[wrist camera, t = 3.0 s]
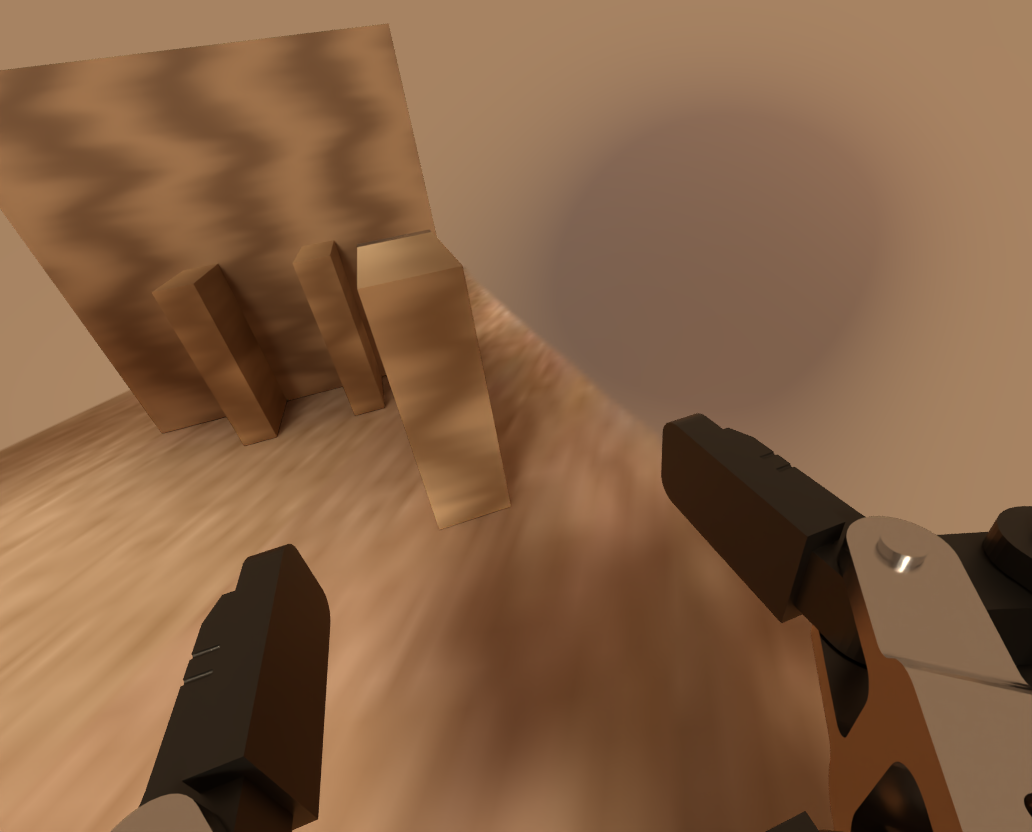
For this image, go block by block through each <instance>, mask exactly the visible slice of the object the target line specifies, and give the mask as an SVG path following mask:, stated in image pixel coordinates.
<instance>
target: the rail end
mask: <svg viewBox="0 0 1032 832" xmlns="http://www.w3.org/2000/svg"><path fill="white" fill-rule="evenodd" d="M357 290H358V293H359V296H360V299H361V302H362V305H363V308H364V310H365V313H366V316H367V319H368V322H369V325H370V328H371V331H372V334H373V337H374V340H375V343H376V346H377V349H378V351H379V354H380V357H381V360H382V363H383V366H384V369H385V372H386V375H387V378H388V381H389V384H390V387H391V390H392V392H393V395H394V398H395V401H396V404H397V407H398V410H399V413H400V416H401V419H402V422H403V425H404V428H405V431H406V433H407V436H408V439H409V442H410V445H411V448H412V451H413V454H414V457H415V460H416V463H417V466H418V469H419V472H420V474H421V477H422V480H423V483H424V486H425V489H426V492H427V495H428V498H429V501H430V504H431V507H432V510H433V513H434V515H435V518H436V521H437V524H438V527H439V530H441V529H444V528H447V527H450V526H453V525H456V524H459V523H462V522H465V521H468V520H471V519H474V518H477V517H480V516H483V515H486V514H490V513H493V512H496V511H499V510H502V509H505V508H508V507H511V503H510V498H509V493H508V488H507V483H506V478H505V473H504V468H503V464H502V459H501V454H500V449H499V444H498V439H497V434H496V429H495V424H494V419H493V414H492V409H491V404H490V399H489V394H488V389H487V384H486V380H485V375H484V370H483V365H482V360H481V355H480V350H479V345H478V340H477V335H476V330H475V325H474V320H473V315H472V310H471V305H470V301H469V296H468V291H467V286H466V281H465V276H464V271H463V266H462V265H461V264H460V263H459V261H458V260H457V259H456V258H455V257H454V256H453V255H452V254H451V253H450V251H449V250H448V249H447V248H446V247H445V246H444V245H443V244H442V243H441V242H440V240H439V239H438V238H437V237H436V236H435V235H434V234H433V233H432V232H431V230H430V229H429V230H424V231H419V232H414V233H409V234H404V235H400V236H395V237H390V238H385V239H380V240H375V241H370V242H365V243H360V244H357Z"/></svg>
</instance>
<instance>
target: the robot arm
mask: <svg viewBox="0 0 1032 832" xmlns="http://www.w3.org/2000/svg"><path fill="white" fill-rule="evenodd" d="M661 477H662V483H663V486H664V489H665V491H666V493H667V495H668V497H669V499H670V500H671V501H672V503H673V504H674V505H675V506H676V507H677V508H678V509H679V510H680V511H681V513H682V514H683V515H684V516H685V517H686V518H687V519H688V520H689V521H690V523H691V524H692V525H693V526H694V527H695V528H696V529H697V530H698V531H699V532H700V534H701V535H702V536H703V537H704V538H705V539H706V540H707V541H708V542H709V544H710V545H711V546H712V547H713V548H714V549H715V550H716V551H717V552H718V554H719V555H720V556H721V557H722V558H723V559H724V560H725V561H726V562H727V563H728V565H729V566H730V567H731V568H732V569H733V570H734V571H735V572H736V573H737V575H738V576H739V577H740V578H741V579H742V580H743V581H744V582H745V583H746V585H747V586H748V587H749V588H750V589H751V590H752V591H753V592H754V593H755V594H756V596H757V597H758V598H759V599H760V600H761V601H762V602H763V603H764V604H765V606H766V607H767V608H768V609H769V610H770V611H771V612H772V613H773V614H774V616H775V617H776V618H777V619H778V620H779V621H780V622H781V623H783V622H785V621H788V620H790V619H792V618H795V617H797V616H799V615H802V614H803V615H804V616H805V617H806V618H807V619H808V620H809V621H810V622H811V623H812V624H813V625H812V628H811V639H812V645H813V650H814V656H815V661H816V667H817V673H818V678H819V684H820V689H821V695H822V700H823V706H824V712H825V717H826V723H827V728H828V734H829V741H830V763H829V774H828V786H829V800H830V808H831V814H832V820H833V827H834V831H831V830H818V829H817V827H816V826H815V825H814V823H813V822H812V820H811V819H810V817H809V816H808V814H807V813H806V811H804V812H802V813H801V814H799V815H797V816H795V817H793V818H791V819H789V820H787V821H785V822H783V823H781V824H779V825H777V826H776V827H774V828H772V829H770V830H768V831H766V832H1032V506H1022V507H1014V508H1009V509H1007V510H1005V511H1003V512H1002V513H1001V514H999V516H998V518H997V520H996V521H995V522H994V524H993V526H992V527H991V529H990V531H989V532H979V533H962V534H947V535H936V534H934V533H932V532H931V531H929V530H927V529H925V528H923V527H921V526H918V525H916V524H914V523H911V522H908V521H905V520H901V519H897V518H892V517H884V516H871V517H865V516H863V515H862V514H860V513H859V512H857V511H856V510H855V509H853V508H852V507H850V506H849V505H848V504H846V503H845V502H843V501H842V500H840V499H839V498H838V497H836V496H835V495H834V494H832V493H831V492H829V491H828V490H827V489H825V488H824V487H822V486H821V485H820V484H818V483H817V482H815V481H814V480H813V479H811V478H810V477H808V476H807V475H806V474H804V473H803V472H801V471H800V470H798V469H797V468H795V467H793V468H792V467H791V465H790V463H789V462H787V461H786V460H784V459H783V458H782V457H780V456H779V455H774V453H773V451H772V450H770V449H769V448H768V447H766V446H765V445H764V444H762V443H761V442H759V441H758V440H756V439H755V438H754V437H751V436H748V435H746V434H743V433H741V432H738V431H736V430H733V429H730V428H726V429H722V428H720V427H719V426H718V425H717V424H715V423H714V422H713V421H711V420H710V419H709V418H707V417H706V416H704V415H702V414H694V415H691V416H688V417H685V418H681V419H679V420H675V421H673V422H669V423H667V424H666V425H665V426H664V428H663V441H662V470H661ZM329 637H330V611H329V605H328V602H327V598H326V596H325V593H324V591H323V589H322V588H321V586H320V585H319V583H318V582H317V580H316V578H315V577H314V575H313V574H312V572H311V571H310V569H309V567H308V566H307V564H306V563H305V561H304V559H303V558H302V556H301V555H300V553H299V552H298V550H297V549H296V548H295V546H293V545H292V544H287V545H284V546H281V547H278V548H275V549H272V550H268V551H265V552H262V553H259V554H256V555H253V556H250V557H248V558H247V559H246V560H245V561H244V563H243V566H242V569H241V573H240V576H239V580H238V583H237V587H236V590H235V591H233V592H230V593H227V594H224V595H222V596H221V598H220V599H219V600H218V602H217V603H216V605H215V606H214V607H213V609H212V610H211V612H210V613H209V614H208V616H207V617H206V619H205V620H204V622H203V623H202V625H201V628H200V631H199V634H198V637H197V640H196V643H195V646H194V649H193V652H192V656H193V658H192V659H191V660H189V663H188V666H187V669H186V672H185V675H184V678H183V680H184V685H183V686H181V687H180V690H179V693H178V696H177V699H176V702H175V705H174V708H173V711H172V714H171V717H170V720H169V723H168V726H167V729H166V732H165V735H164V738H163V740H162V743H161V746H160V749H159V752H158V755H157V758H156V761H155V764H154V767H153V770H152V773H151V776H150V779H149V782H148V785H147V788H146V791H145V793H144V796H143V798H142V801H141V803H140V805H139V807H138V808H137V809H136V810H135V811H133V812H132V813H131V814H129V815H128V816H127V817H126V818H125V819H123V820H122V821H121V822H120V823H119V824H118V825H117V826H116V827H115V828H114V829H113V830H112V831H111V832H292V830H294V829H296V828H299V827H301V826H303V825H306V824H308V823H310V822H313V821H315V820H317V819H318V813H319V797H320V781H321V765H322V749H323V733H324V717H325V701H326V685H327V669H328V653H329Z"/></svg>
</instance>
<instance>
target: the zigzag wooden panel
mask: <svg viewBox="0 0 1032 832" xmlns="http://www.w3.org/2000/svg"><path fill="white" fill-rule="evenodd" d="M0 209H1V210H2V212H3V213H4V215H5V216H6V217H7V219H8V220H9V221H10V223H11V224H12V226H13V227H14V228H15V230H16V231H17V233H18V234H19V235H20V237H21V238H22V239H23V241H24V242H25V243H26V245H27V246H28V248H29V249H30V251H31V252H32V253H33V255H34V256H35V257H36V259H37V260H38V262H39V263H40V264H41V266H42V267H43V269H44V270H45V272H46V273H47V274H48V276H49V277H50V278H51V280H52V281H53V283H54V284H55V285H56V287H57V288H58V289H59V291H60V292H61V294H62V295H63V297H64V298H65V299H66V301H67V302H68V303H69V305H70V306H71V308H72V309H73V310H74V312H75V313H76V315H77V316H78V317H79V319H80V320H81V322H82V323H83V324H84V326H85V327H86V328H87V330H88V331H89V332H90V334H91V335H92V337H93V338H94V340H95V341H96V342H97V344H98V345H99V347H100V348H101V349H102V351H103V352H104V353H105V355H106V356H107V358H108V359H109V360H110V362H111V363H112V364H113V366H114V367H115V369H116V370H117V371H118V373H119V374H120V376H121V377H122V378H123V380H124V381H125V383H126V384H127V385H128V387H129V388H130V390H131V391H132V392H133V394H134V395H135V397H136V398H137V399H138V401H139V402H140V403H141V405H142V406H143V408H144V409H145V410H146V412H147V413H148V415H149V416H150V417H151V419H152V420H153V422H154V423H155V424H156V426H157V427H158V428H159V430H160V431H161V433H165V432H169V431H173V430H177V429H181V428H185V427H188V426H192V425H196V424H200V423H204V422H208V421H211V420H215V419H219V418H223V417H227V418H228V420H229V421H230V423H231V425H232V426H233V428H234V430H235V431H236V433H237V435H238V436H239V438H240V440H241V441H242V443H243V445H244V446H245V445H249V444H253V443H256V442H260V441H264V440H267V439H271V438H275V437H277V435H278V431H279V427H280V424H281V420H282V417H283V413H284V410H285V406H286V402H287V401H288V400H292V399H296V398H300V397H304V396H308V395H311V394H315V393H319V392H323V391H327V390H331V389H335V388H338V387H342V386H343V388H344V390H345V393H346V395H347V397H348V400H349V402H350V405H351V407H352V410H353V412H354V414H355V416H356V415H359V414H363V413H367V412H370V411H374V410H378V409H381V408H385V403H384V394H383V385H382V376H385V375H386V372H385V369H384V366H383V363H382V360H381V357H380V354H379V351H378V349H377V346H376V343H375V340H374V337H373V334H372V331H371V328H370V325H369V322H368V319H367V316H366V313H365V310H364V308H363V305H362V302H361V299H360V296H359V293H358V290H357V244H360V243H365V242H370V241H375V240H380V239H385V238H390V237H395V236H400V235H404V234H409V233H414V232H419V231H424V230H429V229H430V230H431V232H432V233H433V234H434V235H435V236H436V231H435V227H434V222H433V218H432V214H431V209H430V205H429V201H428V196H427V191H426V187H425V183H424V178H423V174H422V169H421V165H420V161H419V157H418V152H417V147H416V143H415V138H414V134H413V130H412V125H411V121H410V117H409V112H408V108H407V103H406V99H405V94H404V90H403V86H402V81H401V77H400V72H399V68H398V64H397V59H396V55H395V50H394V46H393V41H392V37H391V33H390V28H389V24H381V25H372V26H363V27H355V28H347V29H339V30H330V31H322V32H314V33H306V34H297V35H289V36H281V37H273V38H265V39H256V40H248V41H240V42H231V43H223V44H215V45H207V46H198V47H190V48H182V49H173V50H165V51H157V52H148V53H141V54H132V55H124V56H115V57H107V58H99V59H91V60H83V61H74V62H66V63H58V64H49V65H41V66H33V67H25V68H17V69H8V70H0ZM436 237H437V236H436Z"/></svg>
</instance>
